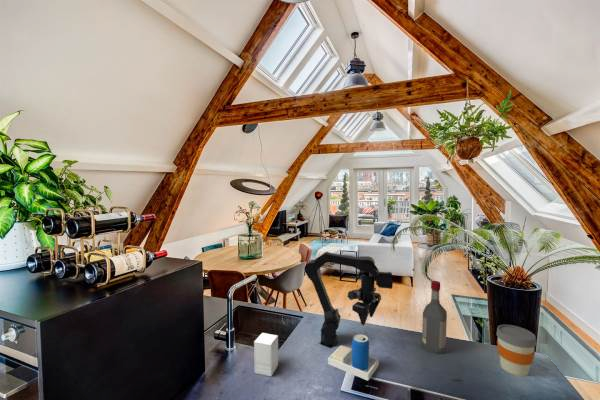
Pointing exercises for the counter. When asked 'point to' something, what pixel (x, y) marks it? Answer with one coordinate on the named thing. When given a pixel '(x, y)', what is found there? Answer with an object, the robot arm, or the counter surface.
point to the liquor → (434, 323)
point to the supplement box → (266, 354)
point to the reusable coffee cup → (515, 349)
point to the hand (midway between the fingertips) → (367, 320)
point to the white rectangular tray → (350, 369)
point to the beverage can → (360, 352)
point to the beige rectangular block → (343, 354)
